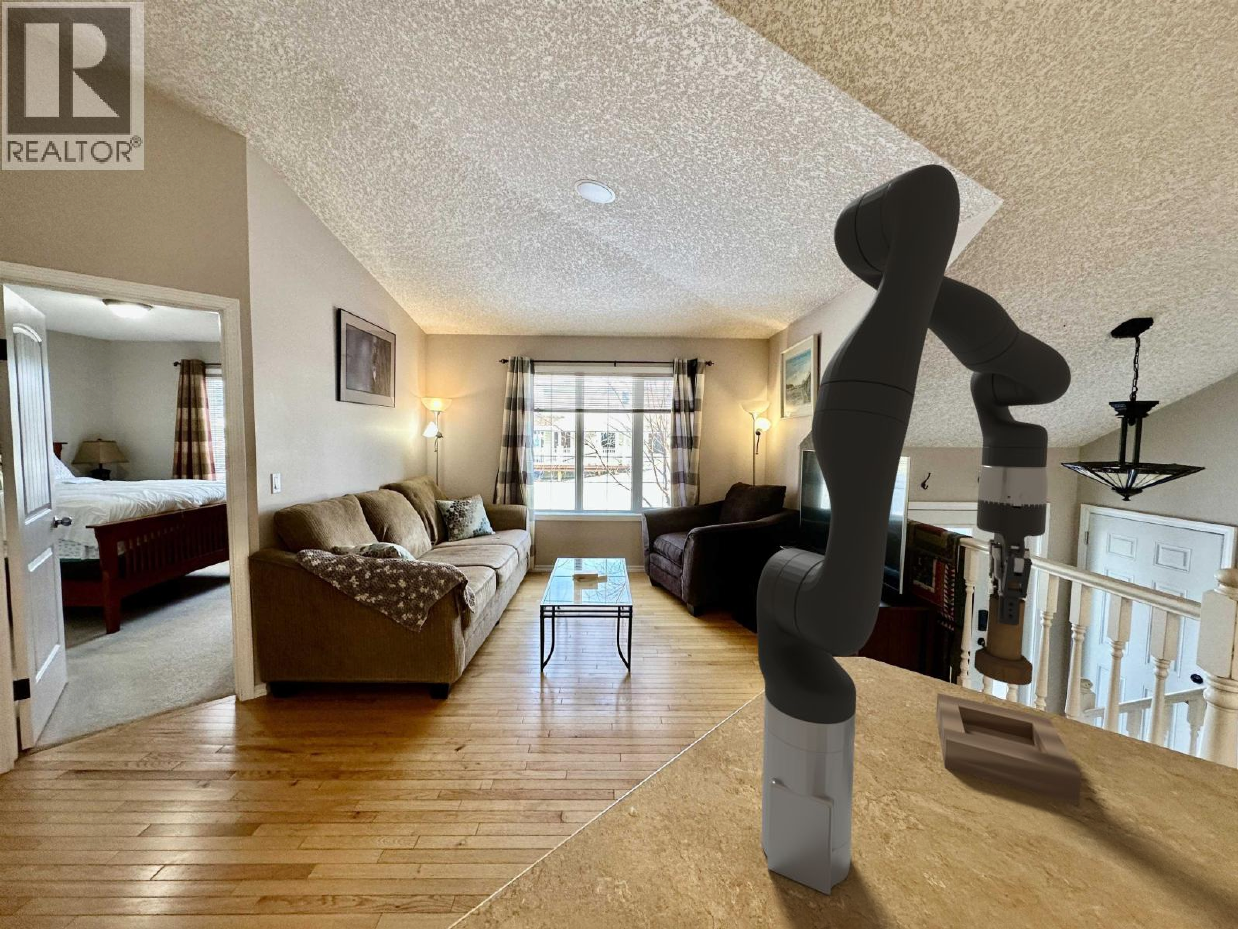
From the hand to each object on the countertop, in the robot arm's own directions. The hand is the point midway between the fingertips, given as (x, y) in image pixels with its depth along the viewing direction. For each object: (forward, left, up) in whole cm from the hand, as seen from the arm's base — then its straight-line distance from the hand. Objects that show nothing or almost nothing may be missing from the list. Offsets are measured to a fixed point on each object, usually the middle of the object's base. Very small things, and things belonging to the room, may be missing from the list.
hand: (1004, 617), depth 68 cm
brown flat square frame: (0, 0, -21) cm, 21 cm away
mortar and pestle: (0, 0, -8) cm, 8 cm away
